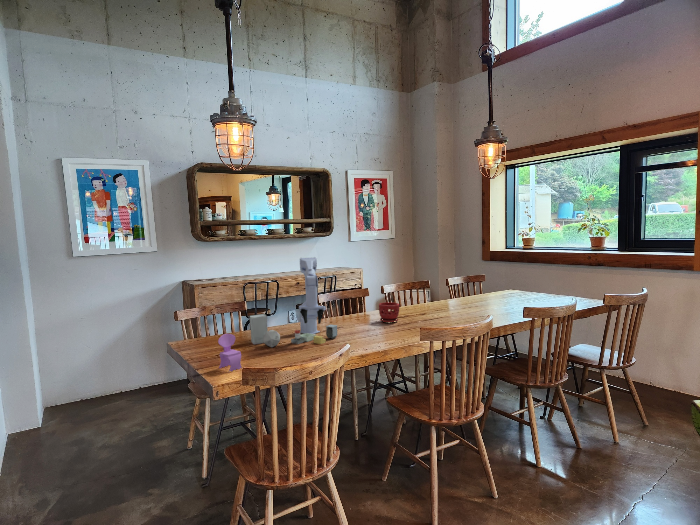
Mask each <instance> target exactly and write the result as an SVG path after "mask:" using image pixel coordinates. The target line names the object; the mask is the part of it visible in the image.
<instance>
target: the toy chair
mask: <svg viewBox="0 0 700 525" xmlns="http://www.w3.org/2000/svg"><path fill="white" fill-rule="evenodd" d="M235 342H236V336H235V335H234V334H231V333H224V334H222V335H221V336H220V337H219V338H218V340H217V343H218V344H219V346H221V347H222V348H223V351H221V352H219V358H220V363H219V367H218V369H223V368H225V366H226V367H229V366H230V368H229V370H228V372H229V371H231V372H234V371H233V370H235V371H237V370H236V369H238V370H241V369H243V367H242V364H241V361H242V360H241V359H242V352H241V351H240V350H236V349H231V347H232V346H233V345H234V344H235ZM228 365H229V366H228ZM222 367H223V368H222ZM240 368H241V369H240Z"/></svg>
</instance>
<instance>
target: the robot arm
mask: <svg viewBox="0 0 700 525" xmlns="http://www.w3.org/2000/svg"><path fill="white" fill-rule="evenodd" d="M317 259H318V258H317V257H315V256H314V257H300V258H299V268H300V269H299V271H300V273H302V274H303V276H304V284H305V301H304V302H303V303H301V305H299V306H298V310H299V312H300V314H301V319H300V322H299V323H300V324H299V325H300V334H305V333H309V334H315V335H316V334H317V333H321V331H320V330H318V325H319V324H322V323H321V322H322V318H323V314H324V313H325V311H326V310H327V308H326V307H327V306H325V305H319V304H318V283H319V280H318V275H317V274H316V272H317V267H318V260H317Z"/></svg>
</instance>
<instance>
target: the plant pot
mask: <svg viewBox="0 0 700 525" xmlns="http://www.w3.org/2000/svg"><path fill="white" fill-rule="evenodd" d="M378 312H379V316H380V319H379V321H380V322H381V321H383V322H394V321H397V322H398V321H399V314H400V303H398V302H389V301H388V302H380V303H379V304H378ZM382 319H383V320H382ZM396 319H397V320H396ZM383 322H382V323H383Z"/></svg>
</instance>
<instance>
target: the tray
mask: <svg viewBox="0 0 700 525" xmlns="http://www.w3.org/2000/svg"><path fill="white" fill-rule="evenodd" d="M313 336H317V334H316V333H315V334H309V333H300V338H304V341H305V342H304V343H309V342H311V341H314V337H313Z"/></svg>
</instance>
